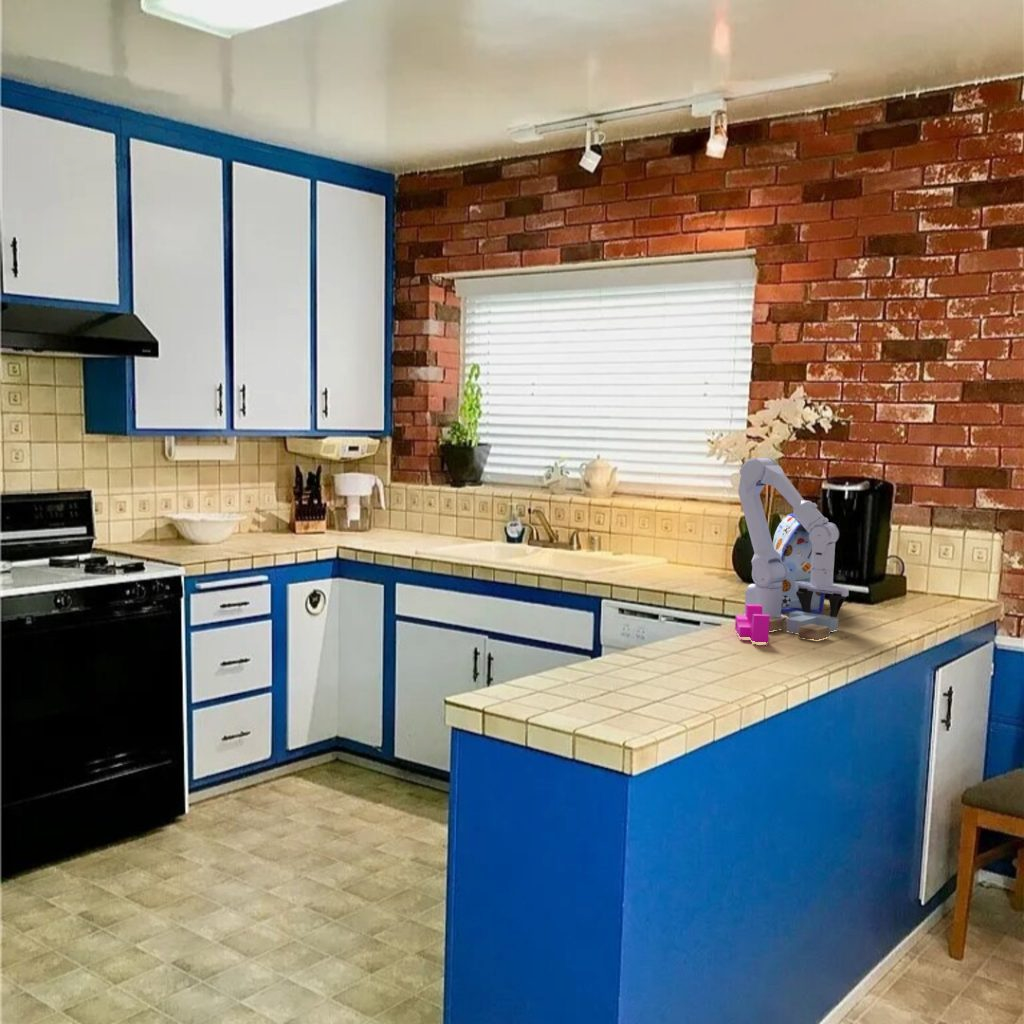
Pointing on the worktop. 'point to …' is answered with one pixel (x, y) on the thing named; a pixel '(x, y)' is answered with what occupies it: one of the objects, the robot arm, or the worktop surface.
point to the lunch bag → (795, 563)
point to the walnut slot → (802, 629)
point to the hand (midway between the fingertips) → (819, 619)
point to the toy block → (753, 624)
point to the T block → (809, 621)
